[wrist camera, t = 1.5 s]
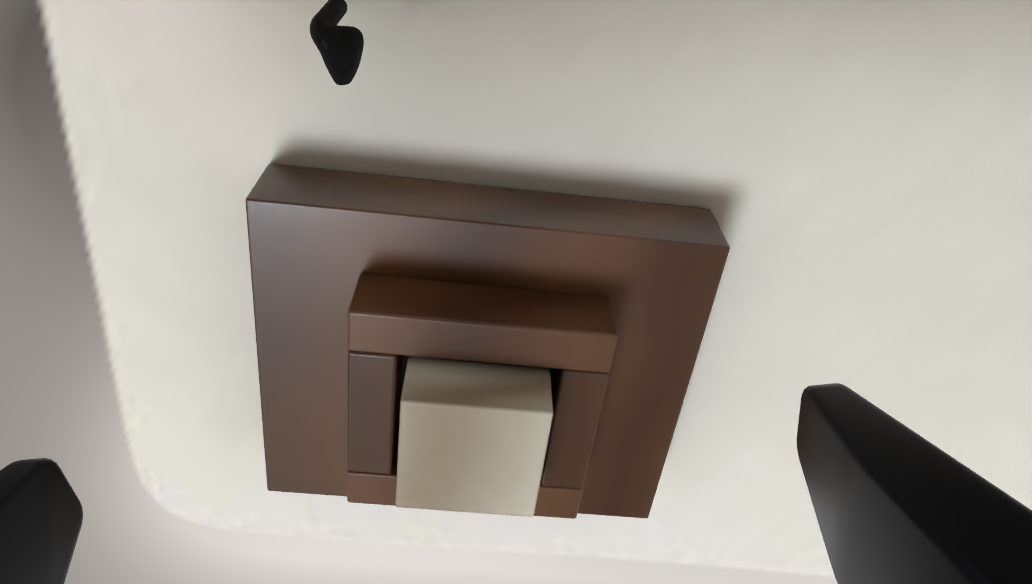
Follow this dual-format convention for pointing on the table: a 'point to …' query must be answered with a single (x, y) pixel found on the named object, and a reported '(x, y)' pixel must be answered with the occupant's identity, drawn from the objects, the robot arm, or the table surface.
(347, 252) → the key block
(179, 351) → the table surface
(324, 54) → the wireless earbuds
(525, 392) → the key
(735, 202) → the table surface
